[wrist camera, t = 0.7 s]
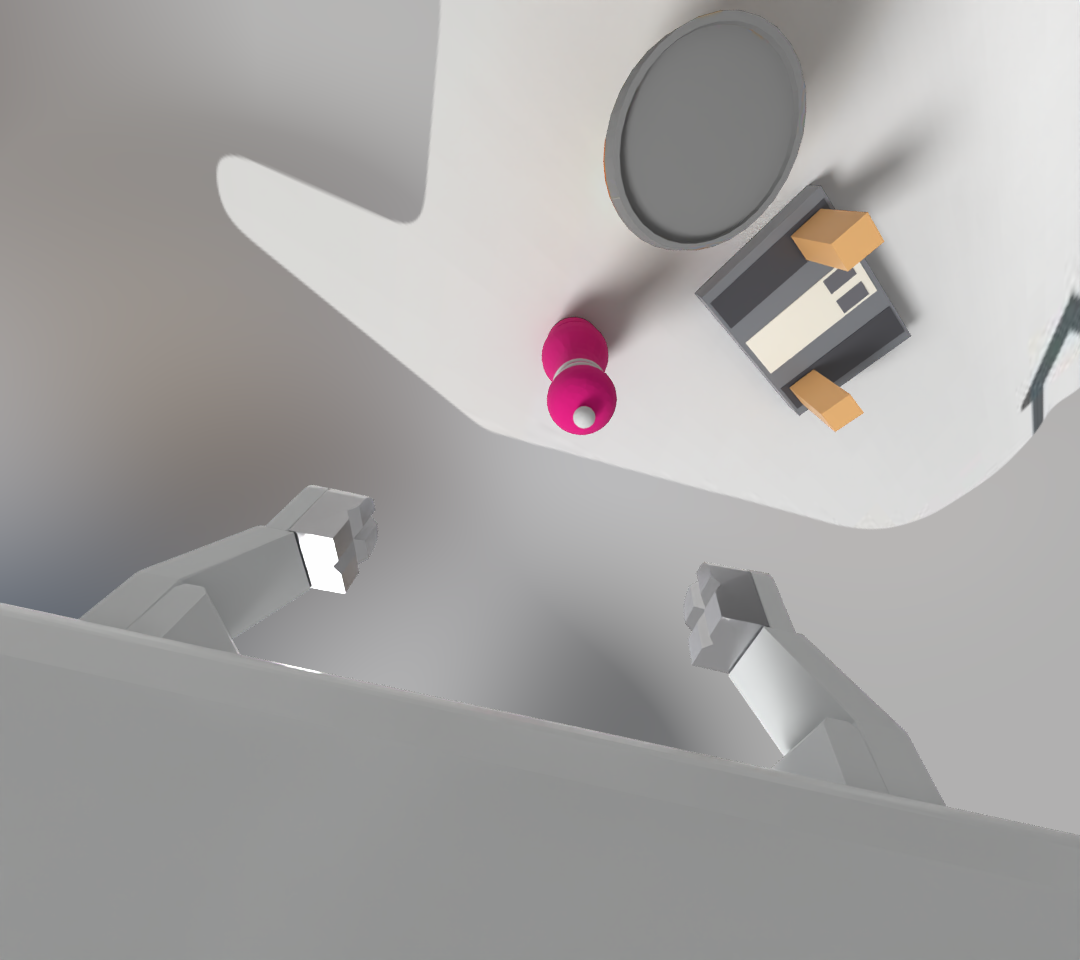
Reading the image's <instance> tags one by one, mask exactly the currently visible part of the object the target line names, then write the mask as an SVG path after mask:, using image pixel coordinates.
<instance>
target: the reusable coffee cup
mask: <svg viewBox="0 0 1080 960" xmlns="http://www.w3.org/2000/svg"><path fill="white" fill-rule="evenodd" d="M805 115H806V93H805V83H804V78H803V74H802V70H801V65H800V62H799V60H798V58H797V56H796V54H795V52H794V49H793V47H792V45H791V43H790V42H789V41H788V40H787V38H786V37H785V36H784V35H783V34H782V32H781V31H780V30H779V29H778V28H777V27H776V26H775V25H773V24H772V23H770V22H769V21H767V20H766V19H764V18H763V17H761V16H759V15H755V14H752V13H749V12H745V11H742V10H720V11H717V12H713V13H709V14H706V15H702V16H699V17H697V18H695V19H693V20H692V21H690V22H688V23H686V24H684V25H683V26H681V27H679V28H677V29H676V30H674V31H673V32H671V33H669V34H668V35H666V36H665V37H664V38H662V39H661V40H660V41H659V42H658V43H657V44H655V45H654V46H653V47H652V48H651V49H650V50H648V51H647V53H646V54H645V55H644V56H643V58H642V59H641V60H640V61H639V62H638V64H637V65H636V66H635V67H634V69H633V70H632V71H631V73H630V75H629V77H628V78H627V80H626V82H625V83H624V85H623V87H622V89H621V90H620V92H619V95H618V98H617V100H616V103H615V105H614V108H613V110H612V113H611V117H610V121H609V125H608V130H607V134H606V139H605V147H604V161H603V162H604V173H605V181H606V185H607V189H608V193H609V196H610V199H611V201H612V203H613V205H614V207H615V209H616V211H617V213H618V215H619V217H620V218H621V219H622V221H623V222H624V223H625V225H626V226H627V227H628V229H629V230H630V231H632V232H633V233H634V234H635V235H636V236H638V237H639V238H640V239H641V240H643V241H645V242H647V243H649V244H651V245H653V246H655V247H659V248H664V249H668V250H699V249H704V248H709V247H713V246H715V245H718V244H720V243H723V242H725V241H727V240H730V239H731V238H733V237H734V236H736V235H737V234H739V233H740V232H742V231H743V230H745V229H746V228H747V227H749V226H750V225H751V224H752V223H753V222H754V221H755V220H756V219H757V218H759V217H760V216H761V215H762V214H763V212H764V211H765V210H766V209H767V208H768V206H769V205H770V204H771V203H772V201H773V200H774V199H775V198H776V196H777V194H778V193H779V191H780V190H781V188H782V186H783V185H784V183H785V181H786V180H787V178H788V176H789V173H790V171H791V169H792V167H793V164H794V162H795V160H796V157H797V154H798V150H799V147H800V143H801V140H802V136H803V131H804V123H805Z"/></svg>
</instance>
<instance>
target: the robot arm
mask: <svg viewBox="0 0 1080 960" xmlns="http://www.w3.org/2000/svg"><path fill="white" fill-rule="evenodd" d="M374 511H375V505H374V499H372V498H371V497H368V496H364V495H359V494H354V493H350V492H345V491H341V490H336V489H329V488H324V487H321V486H316V485H310V486H308V487H306V488H305V489H303V490H302V491H301V492H300V493H299V494H298V495H297V496H296V497H295V498H294V499H293V500H292V501H291V502H290V503H289V504H288V505H287V506H286V507H285V508H284V509H283V510H282V511H281V512H280V513H279V514H278V515H277V516H275V517H274V518H273V519H272V520H271V521H270V522H269V523H268V524H267V525H266V526H260V525H258V526H256V527H253V528H251V529H248V530H245V531H243V532H240V533H237V534H235V535H232V536H229V537H227V538H224V539H222V540H219V541H216V542H214V543H211V544H209V545H206V546H204V547H201V548H198V549H196V550H193V551H190V552H188V553H185V554H182V555H180V556H177V557H174V558H172V559H169V560H166V561H164V562H161V563H159V564H156V565H153V566H151V567H148V568H145V569H143V570H140V571H138V572H136V573H135V574H134V575H133V576H132V577H130V578H129V579H128V580H127V581H125V582H124V583H123V584H122V585H120V586H119V587H118V588H117V589H115V590H114V591H113V592H112V593H110V594H109V595H108V596H107V597H105V598H104V599H103V600H102V601H100V602H99V603H98V604H97V605H95V606H94V607H93V608H92V609H90V610H89V611H88V612H87V613H86V614H84V615H83V616H82V617H81V618H79V619H74V618H68V617H64V616H60V615H55V614H50V613H46V612H41V611H37V610H32V609H27V608H23V607H18V606H13V605H8V604H4V603H0V960H1080V835H1076V834H1072V833H1067V832H1063V831H1058V830H1053V829H1049V828H1044V827H1039V826H1035V825H1030V824H1025V823H1020V822H1016V821H1011V820H1007V819H1002V818H997V817H993V816H988V815H983V814H979V813H974V812H969V811H965V810H960V809H955V808H951V807H946V805H945V803H944V801H943V799H942V798H941V795H940V794H939V792H938V790H937V788H936V786H935V784H934V782H933V781H932V779H931V777H930V775H929V773H928V771H927V769H926V767H925V765H924V764H923V762H922V760H921V758H920V756H919V754H918V753H917V751H916V749H915V747H914V745H913V743H912V741H911V739H910V737H909V736H908V734H907V732H906V731H905V730H904V729H903V728H901V726H899V725H898V724H897V723H896V722H895V721H894V720H893V719H892V718H891V717H890V716H889V715H888V714H887V713H886V712H885V711H884V710H882V709H881V708H880V707H879V706H878V705H877V704H876V703H875V702H874V701H873V700H872V699H871V698H870V697H869V696H867V694H866V693H864V692H863V691H862V690H861V689H860V688H859V687H858V686H857V685H856V684H855V683H854V682H853V681H852V680H851V679H849V678H848V677H847V676H846V675H845V674H844V673H843V672H842V671H841V670H840V669H839V668H838V667H837V666H836V665H835V664H834V663H833V662H832V661H831V660H829V659H828V658H827V657H826V656H825V655H824V654H823V653H822V652H821V651H820V650H819V649H818V648H817V647H816V646H815V645H813V644H812V643H811V642H810V641H809V640H808V639H807V638H806V637H805V636H804V635H803V634H799V633H796V632H795V629H794V627H793V625H792V622H791V620H790V618H789V615H788V613H787V610H786V608H785V606H784V603H783V601H782V598H781V596H780V593H779V591H778V588H777V586H776V584H775V581H774V579H773V577H772V576H771V575H770V574H769V573H763V572H757V571H752V570H744V569H739V568H734V567H729V566H724V565H718V564H712V563H708V562H704V563H702V564H701V565H700V567H699V569H698V571H697V578H698V581H697V582H695V583H693V584H691V585H690V586H689V588H688V591H687V593H686V596H685V601H684V620H685V624H686V625H687V626H688V627H689V629H690V630H691V631H692V633H691V634H690V636H689V638H688V645H689V650H690V656H691V662H692V665H694V666H698V667H702V668H707V669H711V670H715V671H720V672H724V673H728V674H729V677H730V679H731V680H732V682H733V683H734V684H735V686H736V687H737V689H738V690H739V692H740V693H741V695H742V696H743V697H744V699H745V700H746V702H747V703H748V705H749V706H750V708H751V709H752V711H753V712H754V713H755V715H756V716H757V718H758V719H759V721H760V722H761V724H762V725H763V727H764V728H765V729H766V731H767V732H768V734H769V735H770V737H771V738H772V739H773V741H774V742H775V744H776V745H777V747H778V748H779V750H780V751H781V753H782V754H783V755H784V757H783V758H782V759H781V760H779V761H778V762H777V763H776V764H775V765H774V766H773V767H772V768H771V769H769V768H765V767H760V766H756V765H751V764H747V763H742V762H737V761H732V760H728V759H723V758H718V757H714V756H709V755H705V754H700V753H695V752H691V751H686V750H682V749H676V748H672V747H667V746H663V745H658V744H653V743H649V742H644V741H639V740H635V739H630V738H626V737H621V736H616V735H612V734H607V733H602V732H597V731H593V730H588V729H584V728H579V727H575V726H570V725H565V724H560V723H556V722H551V721H547V720H542V719H537V718H533V717H528V716H524V715H519V714H514V713H510V712H505V711H500V710H496V709H491V708H486V707H482V706H477V705H472V704H468V703H463V702H458V701H453V700H449V699H444V698H440V697H435V696H430V695H425V694H421V693H416V692H412V691H406V690H402V689H398V688H393V687H388V686H384V685H379V684H374V683H370V682H365V681H360V680H356V679H351V678H347V677H342V676H337V675H333V674H328V673H323V672H319V671H314V670H309V669H305V668H300V667H296V666H291V665H286V664H282V663H277V662H272V661H268V660H263V659H259V658H254V657H249V656H245V655H240V653H239V651H238V650H237V648H236V646H235V644H234V642H233V640H232V639H233V638H235V637H237V636H238V635H240V634H241V633H243V632H244V631H246V630H248V629H249V628H251V627H252V626H254V625H256V624H257V623H258V622H260V621H262V620H263V619H265V618H266V617H268V616H269V615H271V614H273V613H274V612H276V611H277V610H279V609H281V608H282V607H284V606H285V605H287V604H288V603H290V602H292V601H293V600H295V599H296V598H298V597H299V596H301V595H303V594H304V593H306V592H307V591H309V590H310V587H311V588H316V589H322V590H328V591H334V592H339V593H346V592H347V590H348V589H349V587H350V585H351V584H352V583H353V581H354V580H355V578H356V577H357V575H358V574H359V569H358V564H360V563H362V562H364V561H366V560H367V559H369V557H370V555H371V554H372V552H373V551H374V548H375V545H376V542H377V538H378V526H377V522H376V521H375V520H374V519H373V518H372V517H371V515H372V514H373V512H374Z"/></svg>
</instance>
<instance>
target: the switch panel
mask: <svg viewBox="0 0 1080 960" xmlns="http://www.w3.org/2000/svg"><path fill="white" fill-rule="evenodd" d="M820 209H831V210H835V208H834V207H833V205H832V203H831V202H830V200H829V198H828V197H827V195H826V193H825V192H824V190H823V188H822V187H821V186H806V187H805V188H804V189H803V190H802V191H801V192H800V193H799V194H798V195H797V196H796V197H795V198H794V199H793V200H792V201H791V202H790V203H789V204H787V205H786V206H785V207H784V208H783V209H782V210H781V211H780V212H779V213H778V214H777V215H776V216H775V217H774V218H773V219H772V220H771V221H770V222H769V223H768V224H767V225H766V226H765V227H763V228H762V229H761V230H760V231H759V232H758V233H757V234H756V235H755V236H754V237H753V238H752V239H751V240H750V241H749V242H748V243H747V244H746V245H745V246H744V247H743V248H742V249H740V250H739V251H738V252H737V253H736V254H735V255H734V256H733V257H732V258H731V259H730V260H729V261H728V262H727V263H726V264H725V265H724V266H723V267H722V268H721V269H720V270H719V271H718V272H716V273H715V274H714V275H713V276H712V277H711V278H710V279H709V280H708V281H707V282H706V283H705V284H704V285H703V286H702V287H701V288H700V289H699V290H698V291H697V292H696V293H695V294H696V295H697V297H698V298H699V299H700V300H701V301H702V303H703V304H704V305H705V306H706V307H707V309H708V310H709V311H710V312H711V313H712V315H713V316H714V317H715V318H716V319H717V321H718V322H719V323H720V324H721V325H722V327H723V328H724V329H725V330H726V331H727V333H728V334H729V335H730V336H731V337H732V339H733V340H734V341H735V342H736V343H737V345H738V346H739V347H740V348H741V349H742V351H743V352H744V353H745V354H746V355H747V356H748V358H749V359H750V360H751V361H752V362H753V364H754V365H755V366H756V367H757V368H758V370H759V371H760V372H761V373H762V374H763V376H764V377H765V378H766V379H767V380H768V382H769V383H770V384H771V385H772V386H773V388H774V389H775V390H776V391H777V392H778V394H779V395H780V396H781V397H782V398H783V400H784V401H785V402H786V403H787V404H788V406H789V407H790V408H791V409H792V410H794V411H795V412H796V413H797V414H798V415H799V416H800V415H801V414H802V413H804V412H805V411H807V410H808V408H807V407H805V406H804V405H803V404H802V403H801V402H800V400H799V399H798V398H797V397H796V395H795V394H794V393H793V392H792V391H791V389H790V387H791V386H792V385H794V384H795V383H796V382H798V381H799V380H800V379H802V378H803V377H804V376H806V375H807V374H808V373H810V372H811V371H812V370H815V371H817V372H818V373H820V374H821V375H823V376H824V377H826V378H827V379H829V380H830V381H831V382H833V383H834V384H836V385H837V386H839V387H840V386H842V385H843V384H844V383H846V382H847V381H849V380H850V379H852V378H853V377H854V376H856V375H857V374H859V373H860V372H861V371H863V370H864V369H866V368H867V367H868V366H870V365H871V364H873V363H874V362H875V361H877V360H878V359H880V358H881V357H882V356H884V355H885V354H887V353H888V352H889V351H891V350H892V349H894V348H895V347H896V346H898V345H899V344H901V343H902V342H903V341H905V340H906V339H908V338H909V337H910V336H911V335H910V333H909V331H908V330H907V328H906V326H905V325H904V323H903V321H902V320H901V318H900V316H899V315H898V313H897V311H896V310H895V308H894V306H893V305H892V303H891V301H890V300H889V298H888V296H887V295H886V293H885V292H884V290H883V288H882V287H881V285H880V283H879V282H878V280H877V278H876V277H875V275H874V273H873V272H872V270H871V268H870V267H869V265H868V263H867V262H866V260H865V258H864V259H863V260H861V261H860V262H859V263H858V264H856V265H855V266H854V267H853V268H852V269H850V270H849V271H845V270H841V269H837V268H834V267H830V266H827V265H823V264H820V263H816V262H812V261H809V260H806V258H805V257H804V255H803V254H802V252H801V251H800V249H799V248H798V246H797V245H796V243H795V242H794V240H793V239H792V237H791V236H792V235H793V234H794V233H795V232H796V231H797V230H798V229H799V228H800V227H801V226H802V225H804V224H805V223H806V222H807V221H808V220H809V219H810V218H811V217H812V216H813V215H814V214H816V213H817V212H818V211H819V210H820Z"/></svg>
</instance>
